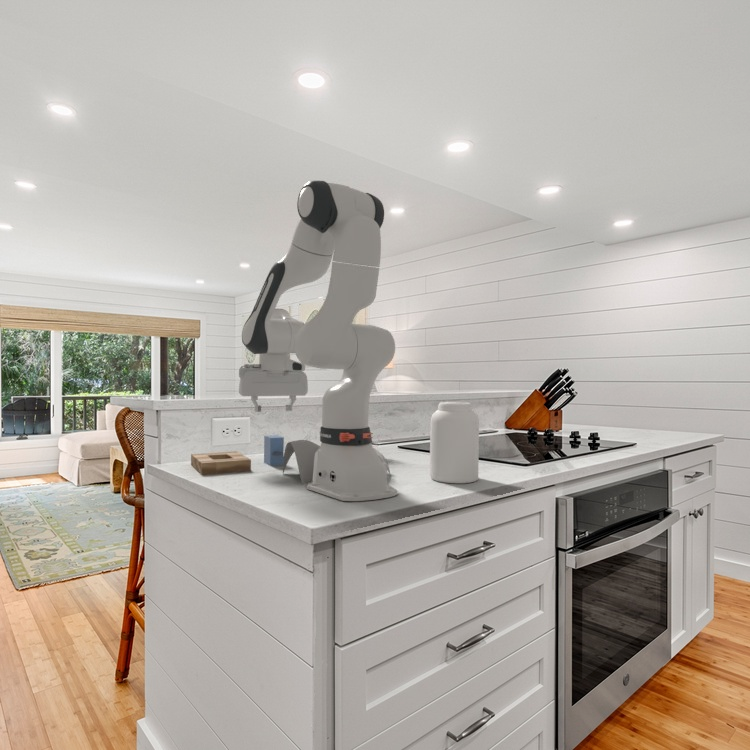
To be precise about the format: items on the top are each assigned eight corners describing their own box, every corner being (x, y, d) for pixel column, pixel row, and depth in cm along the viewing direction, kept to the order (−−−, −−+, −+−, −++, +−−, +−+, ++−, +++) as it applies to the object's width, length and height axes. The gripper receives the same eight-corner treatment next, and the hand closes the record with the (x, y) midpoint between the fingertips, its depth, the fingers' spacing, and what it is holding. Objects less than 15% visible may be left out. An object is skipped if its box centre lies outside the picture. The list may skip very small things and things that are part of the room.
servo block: (285, 465, 149) (285, 438, 149) (271, 466, 148) (272, 438, 147) (275, 460, 157) (275, 434, 157) (262, 461, 155) (262, 435, 155)
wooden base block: (250, 470, 141) (250, 459, 141) (201, 474, 135) (201, 463, 135) (236, 461, 155) (236, 451, 155) (191, 464, 149) (191, 454, 149)
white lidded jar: (440, 485, 126) (442, 403, 126) (422, 475, 138) (423, 400, 138) (487, 483, 129) (488, 403, 129) (465, 473, 141) (466, 400, 141)
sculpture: (359, 465, 153) (359, 432, 153) (393, 477, 136) (393, 440, 136) (278, 472, 140) (278, 437, 140) (304, 486, 124) (304, 446, 124)
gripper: (242, 364, 145) (241, 413, 145) (310, 365, 154) (309, 411, 155) (236, 363, 150) (235, 411, 150) (302, 365, 160) (301, 409, 160)
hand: (273, 411), depth 153 cm, fingers open, 8 cm apart
